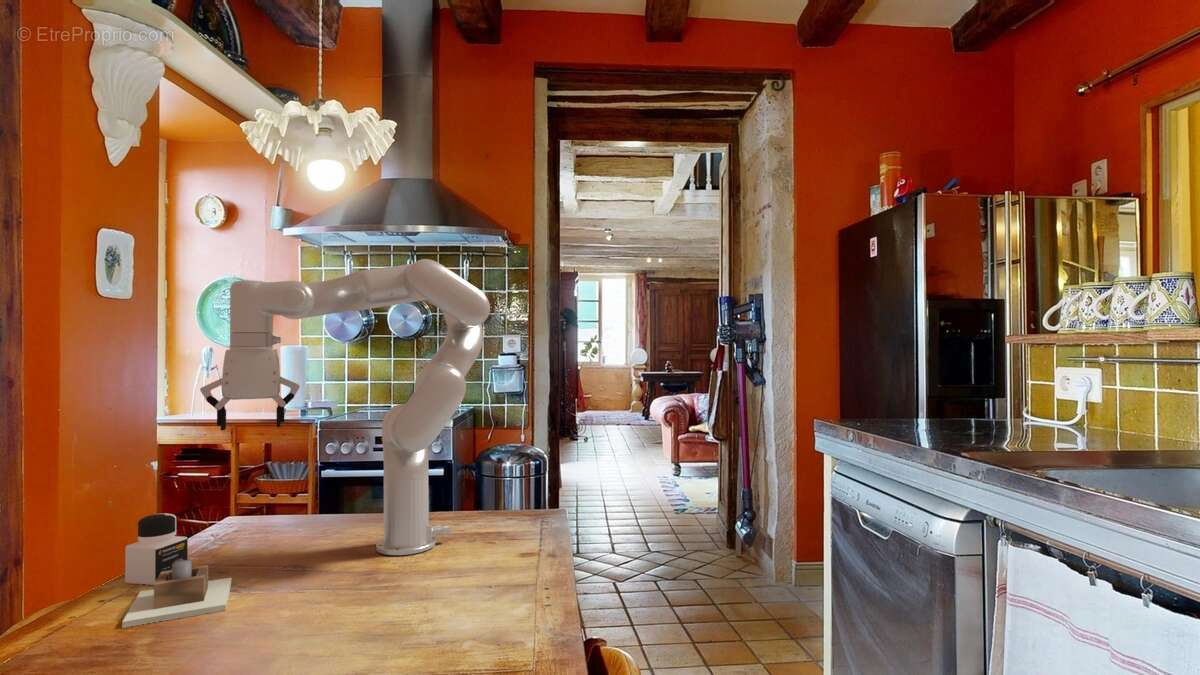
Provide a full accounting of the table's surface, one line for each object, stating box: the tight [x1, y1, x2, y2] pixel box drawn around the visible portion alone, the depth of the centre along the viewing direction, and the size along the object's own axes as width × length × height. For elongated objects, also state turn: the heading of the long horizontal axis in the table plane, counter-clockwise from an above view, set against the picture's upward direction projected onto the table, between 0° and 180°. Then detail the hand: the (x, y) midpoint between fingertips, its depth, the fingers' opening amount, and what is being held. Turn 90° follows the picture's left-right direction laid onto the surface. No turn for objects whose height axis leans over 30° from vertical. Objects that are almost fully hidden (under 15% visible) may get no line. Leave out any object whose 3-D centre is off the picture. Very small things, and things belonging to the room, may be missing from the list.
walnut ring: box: [153, 564, 209, 609], centre depth 107 cm, size 7×7×4 cm
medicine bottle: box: [124, 512, 189, 586], centre depth 119 cm, size 7×7×12 cm
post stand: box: [121, 559, 233, 629], centre depth 107 cm, size 14×14×7 cm
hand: (251, 427), depth 124 cm, fingers open, 9 cm apart
